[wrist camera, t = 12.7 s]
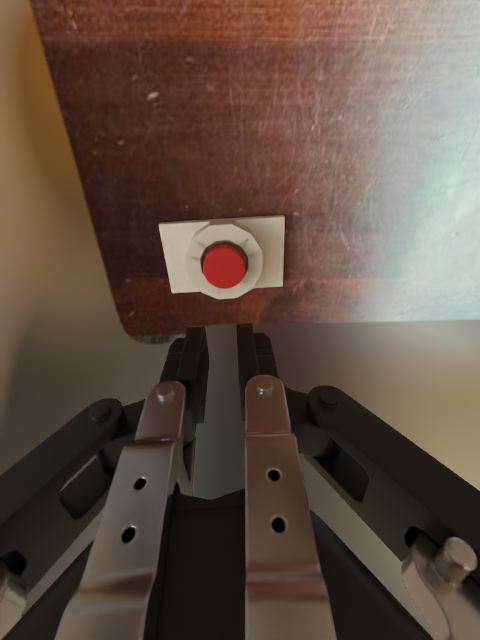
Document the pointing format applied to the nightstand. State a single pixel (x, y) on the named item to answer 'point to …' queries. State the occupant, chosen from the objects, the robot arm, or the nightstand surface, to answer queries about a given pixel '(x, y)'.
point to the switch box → (244, 233)
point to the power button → (224, 266)
